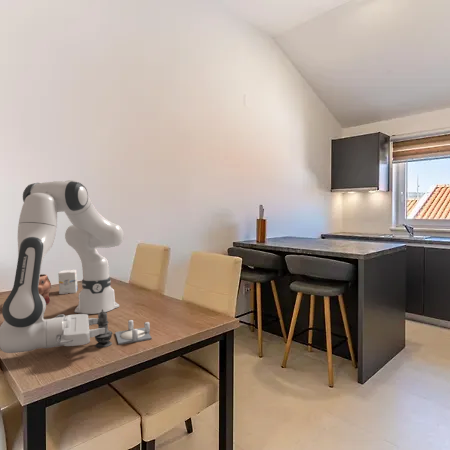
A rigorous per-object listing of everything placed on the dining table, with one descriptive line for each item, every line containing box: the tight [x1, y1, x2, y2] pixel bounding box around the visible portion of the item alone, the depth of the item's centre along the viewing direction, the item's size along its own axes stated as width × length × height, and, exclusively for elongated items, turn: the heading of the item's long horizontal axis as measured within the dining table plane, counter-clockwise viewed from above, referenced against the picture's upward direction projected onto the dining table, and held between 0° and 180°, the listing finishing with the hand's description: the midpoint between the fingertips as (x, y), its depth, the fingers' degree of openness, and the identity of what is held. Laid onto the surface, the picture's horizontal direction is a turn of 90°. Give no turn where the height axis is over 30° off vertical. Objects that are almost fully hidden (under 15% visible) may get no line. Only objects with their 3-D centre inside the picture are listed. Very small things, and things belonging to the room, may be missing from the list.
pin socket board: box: [114, 319, 153, 345], centre depth 120 cm, size 12×11×4 cm
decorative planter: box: [38, 273, 52, 305], centre depth 164 cm, size 20×12×14 cm, turn 43°
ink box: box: [57, 269, 78, 295], centre depth 186 cm, size 9×8×12 cm
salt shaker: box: [94, 309, 113, 349], centre depth 113 cm, size 6×6×12 cm
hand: (103, 325), depth 113 cm, fingers open, 8 cm apart
